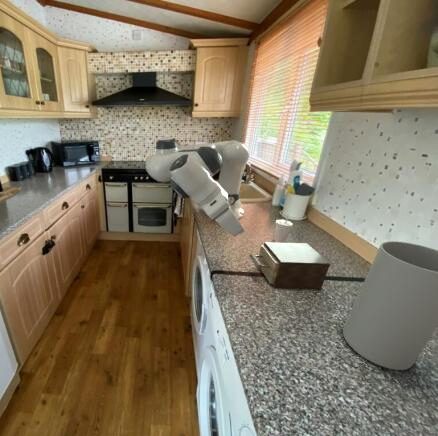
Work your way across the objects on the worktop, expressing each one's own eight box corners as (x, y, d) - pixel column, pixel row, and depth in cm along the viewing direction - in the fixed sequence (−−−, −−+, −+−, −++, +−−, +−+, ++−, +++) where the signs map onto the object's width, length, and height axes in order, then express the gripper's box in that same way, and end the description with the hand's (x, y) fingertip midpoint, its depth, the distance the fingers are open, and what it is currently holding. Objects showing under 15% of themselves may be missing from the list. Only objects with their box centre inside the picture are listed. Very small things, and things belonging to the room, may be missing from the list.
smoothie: (289, 247, 101) (298, 216, 95) (273, 245, 102) (280, 215, 97) (284, 240, 107) (292, 210, 101) (269, 238, 108) (276, 209, 102)
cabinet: (274, 287, 77) (281, 262, 73) (259, 265, 89) (264, 242, 85) (321, 289, 77) (330, 263, 73) (299, 266, 88) (306, 243, 84)
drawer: (256, 283, 77) (261, 262, 74) (244, 263, 88) (248, 244, 85) (313, 285, 77) (320, 264, 74) (294, 265, 87) (300, 246, 84)
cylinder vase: (329, 327, 63) (364, 242, 53) (373, 324, 64) (415, 240, 54) (375, 374, 51) (431, 277, 41) (427, 369, 52) (494, 274, 43)
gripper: (201, 197, 84) (226, 224, 86) (208, 218, 65) (241, 252, 67) (215, 185, 82) (241, 213, 84) (228, 203, 63) (260, 239, 65)
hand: (241, 231), depth 76 cm, fingers closed
